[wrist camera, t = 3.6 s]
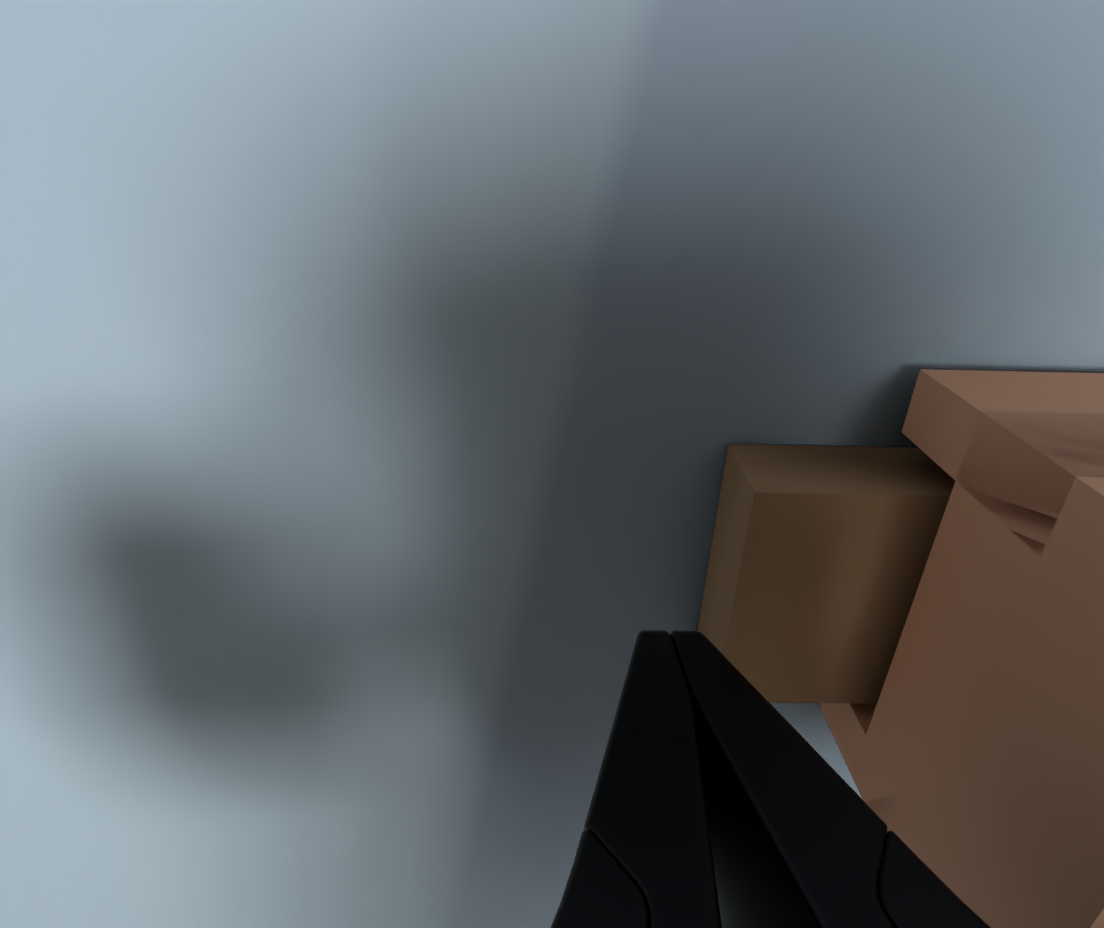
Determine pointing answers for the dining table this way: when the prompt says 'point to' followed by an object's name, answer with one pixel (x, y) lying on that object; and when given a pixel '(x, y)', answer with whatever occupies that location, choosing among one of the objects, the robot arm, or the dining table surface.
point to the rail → (819, 565)
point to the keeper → (1000, 655)
